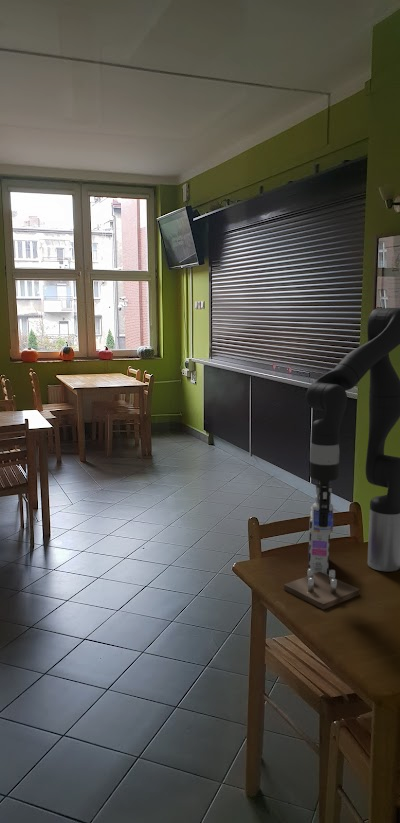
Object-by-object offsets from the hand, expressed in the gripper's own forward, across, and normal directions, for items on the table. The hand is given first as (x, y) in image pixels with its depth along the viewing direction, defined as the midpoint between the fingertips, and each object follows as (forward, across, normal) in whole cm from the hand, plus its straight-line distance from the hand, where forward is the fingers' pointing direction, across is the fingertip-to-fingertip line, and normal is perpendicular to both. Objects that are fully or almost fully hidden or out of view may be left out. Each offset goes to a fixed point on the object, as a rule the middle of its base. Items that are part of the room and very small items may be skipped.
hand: (322, 522), depth 158 cm
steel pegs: (+18, 0, 0) cm, 18 cm away
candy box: (+20, +16, 0) cm, 26 cm away
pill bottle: (+3, 0, 0) cm, 3 cm away
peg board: (+19, 0, 0) cm, 19 cm away
